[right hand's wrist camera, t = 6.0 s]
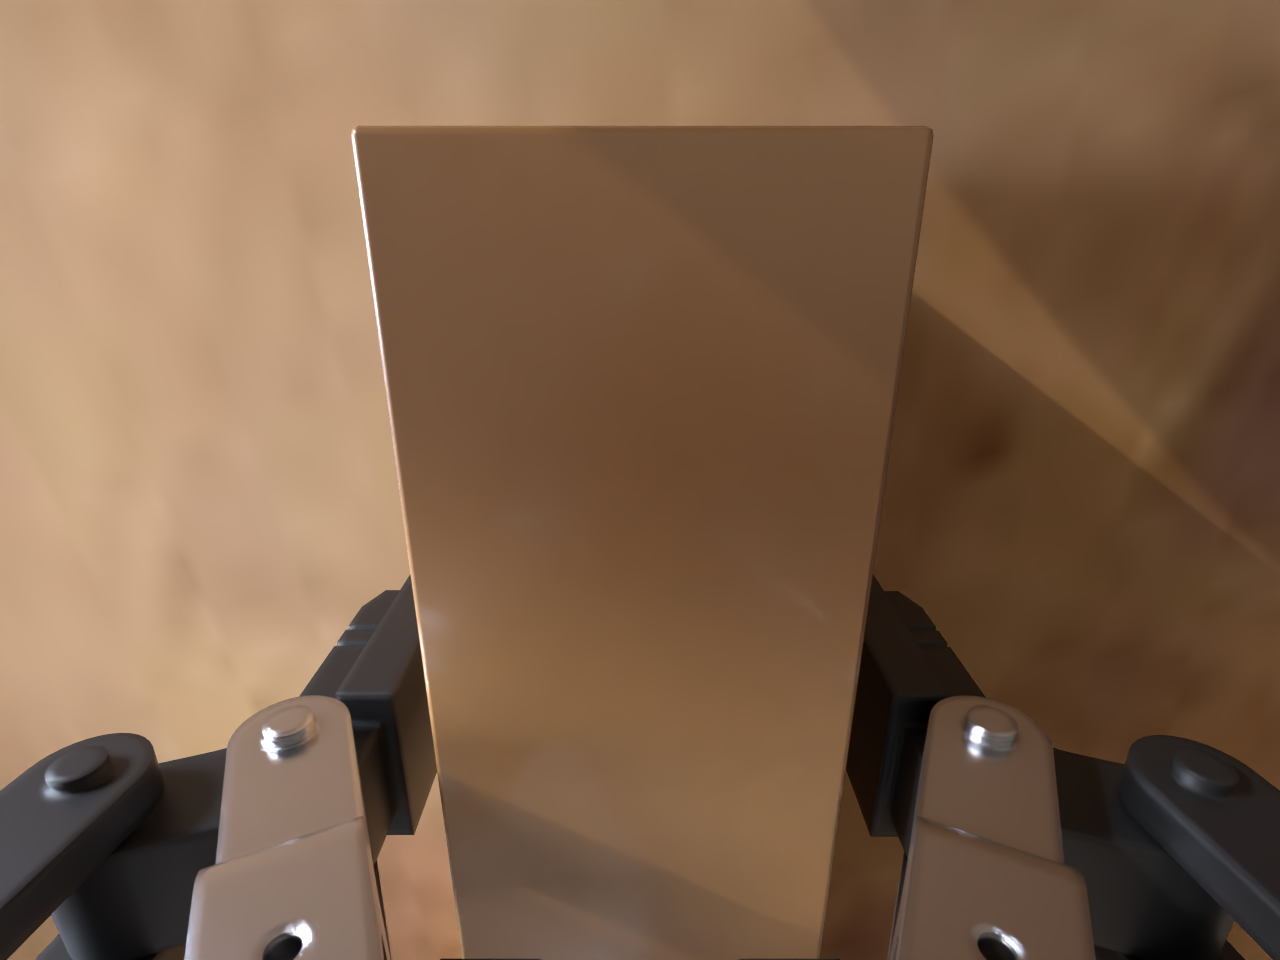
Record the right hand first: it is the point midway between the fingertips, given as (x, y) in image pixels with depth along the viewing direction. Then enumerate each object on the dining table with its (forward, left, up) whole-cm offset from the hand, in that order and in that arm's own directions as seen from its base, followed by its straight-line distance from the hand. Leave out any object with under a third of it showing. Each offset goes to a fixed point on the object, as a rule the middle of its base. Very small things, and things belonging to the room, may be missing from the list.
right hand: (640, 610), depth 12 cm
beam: (+30, 0, -4) cm, 31 cm away
